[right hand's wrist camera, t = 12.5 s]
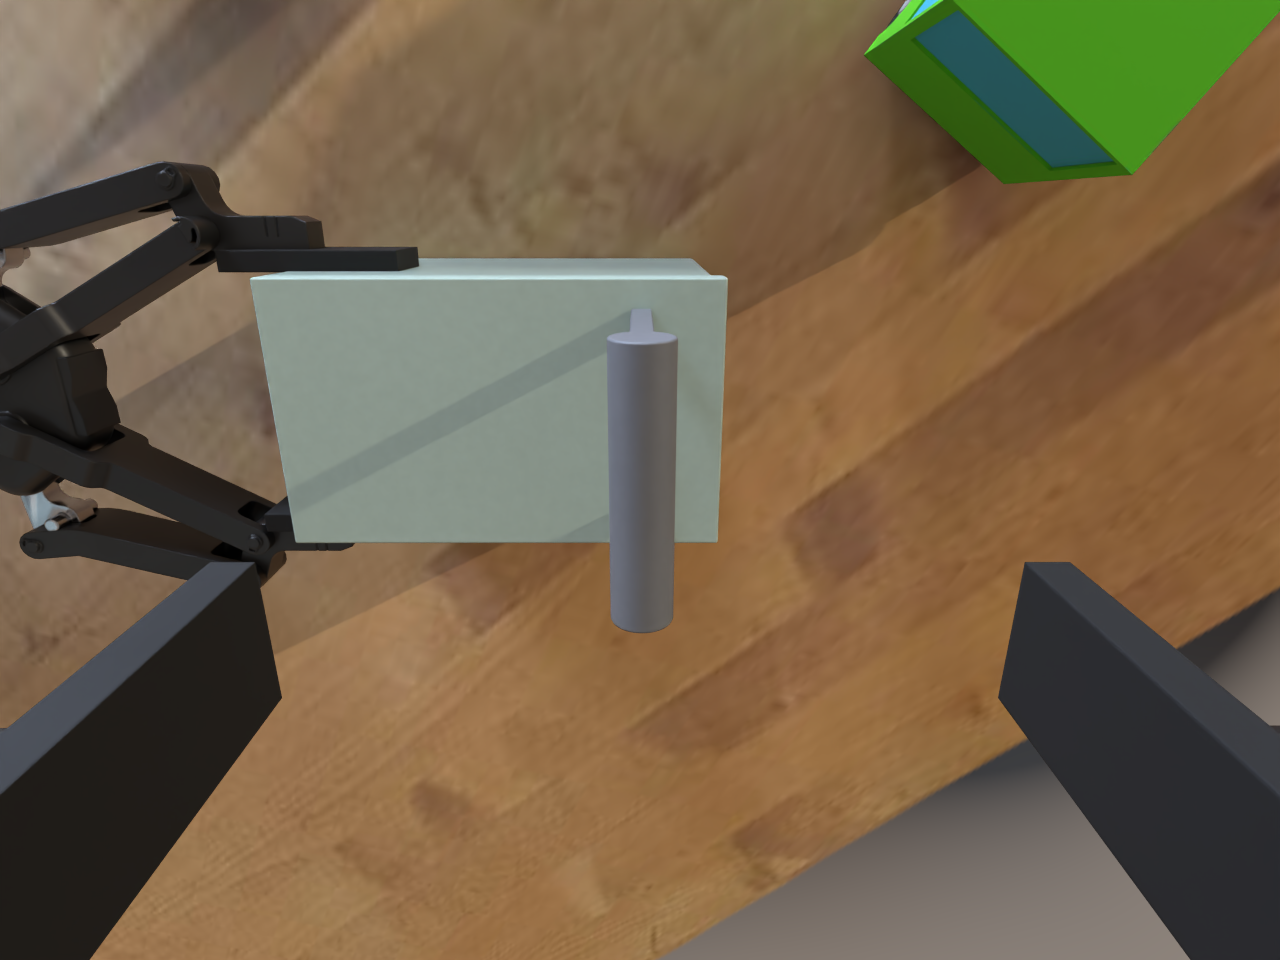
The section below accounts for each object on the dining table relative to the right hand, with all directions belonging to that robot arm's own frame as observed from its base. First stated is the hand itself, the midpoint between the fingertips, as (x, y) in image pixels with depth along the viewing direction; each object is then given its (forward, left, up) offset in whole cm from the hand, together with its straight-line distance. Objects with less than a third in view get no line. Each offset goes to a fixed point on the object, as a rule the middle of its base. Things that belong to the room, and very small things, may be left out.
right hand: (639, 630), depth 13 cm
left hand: (-3, -8, -18) cm, 20 cm away
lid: (-2, -5, -15) cm, 16 cm away
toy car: (-8, +21, -24) cm, 33 cm away
